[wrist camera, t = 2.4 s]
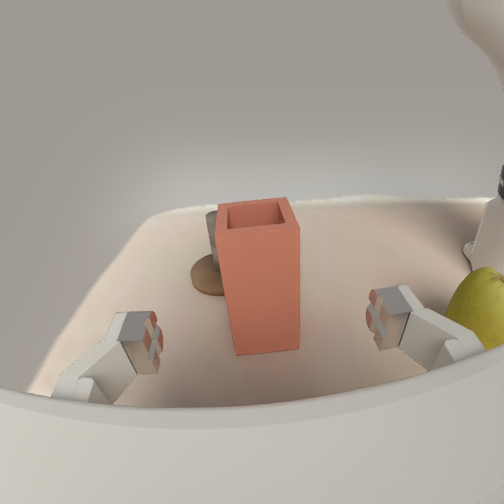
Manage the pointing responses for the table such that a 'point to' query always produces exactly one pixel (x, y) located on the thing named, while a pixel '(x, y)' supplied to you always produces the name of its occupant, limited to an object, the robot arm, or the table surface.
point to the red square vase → (260, 273)
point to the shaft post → (209, 265)
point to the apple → (480, 306)
